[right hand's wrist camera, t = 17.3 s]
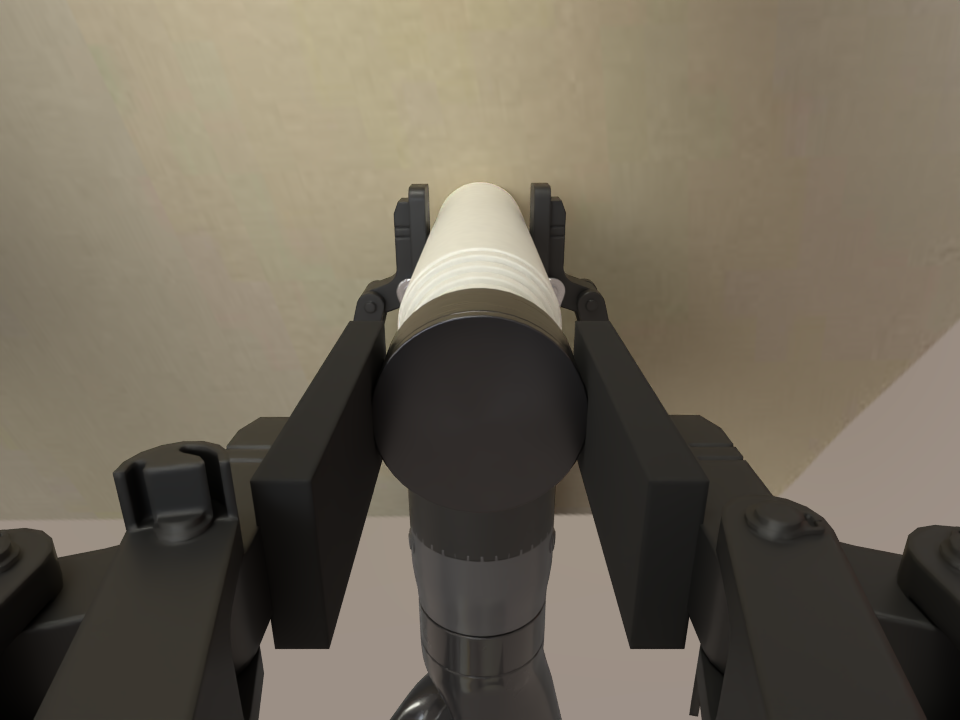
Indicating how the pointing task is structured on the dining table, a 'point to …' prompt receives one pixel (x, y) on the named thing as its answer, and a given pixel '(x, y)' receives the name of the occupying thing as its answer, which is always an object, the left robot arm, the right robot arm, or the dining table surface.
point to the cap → (479, 402)
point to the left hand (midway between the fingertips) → (480, 187)
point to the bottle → (479, 252)
